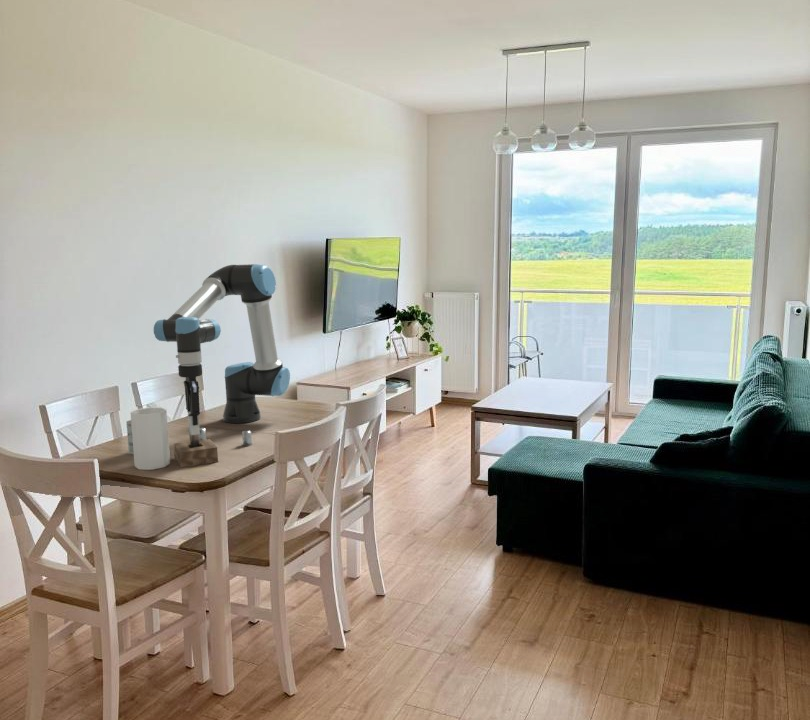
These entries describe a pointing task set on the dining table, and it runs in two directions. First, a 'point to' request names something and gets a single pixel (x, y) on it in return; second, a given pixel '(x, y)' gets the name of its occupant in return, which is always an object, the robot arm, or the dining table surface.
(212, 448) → the hole block
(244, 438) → the short pin
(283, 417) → the dining table surface
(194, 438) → the long pin
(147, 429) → the cup
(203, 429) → the medium pin
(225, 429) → the dining table surface
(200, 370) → the robot arm
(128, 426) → the ink box
